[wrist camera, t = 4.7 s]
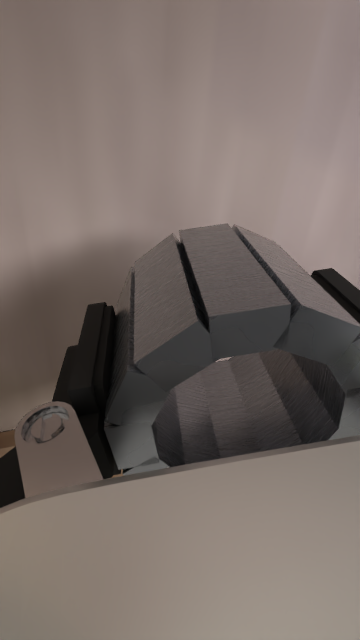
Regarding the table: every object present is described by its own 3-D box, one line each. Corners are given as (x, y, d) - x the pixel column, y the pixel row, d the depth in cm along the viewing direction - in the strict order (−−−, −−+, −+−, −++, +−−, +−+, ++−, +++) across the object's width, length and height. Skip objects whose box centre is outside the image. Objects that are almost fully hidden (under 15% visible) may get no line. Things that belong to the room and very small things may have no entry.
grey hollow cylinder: (306, 212, 10) (422, 284, 6) (291, 368, 14) (358, 483, 10) (99, 241, 10) (71, 337, 6) (136, 393, 14) (136, 520, 9)
